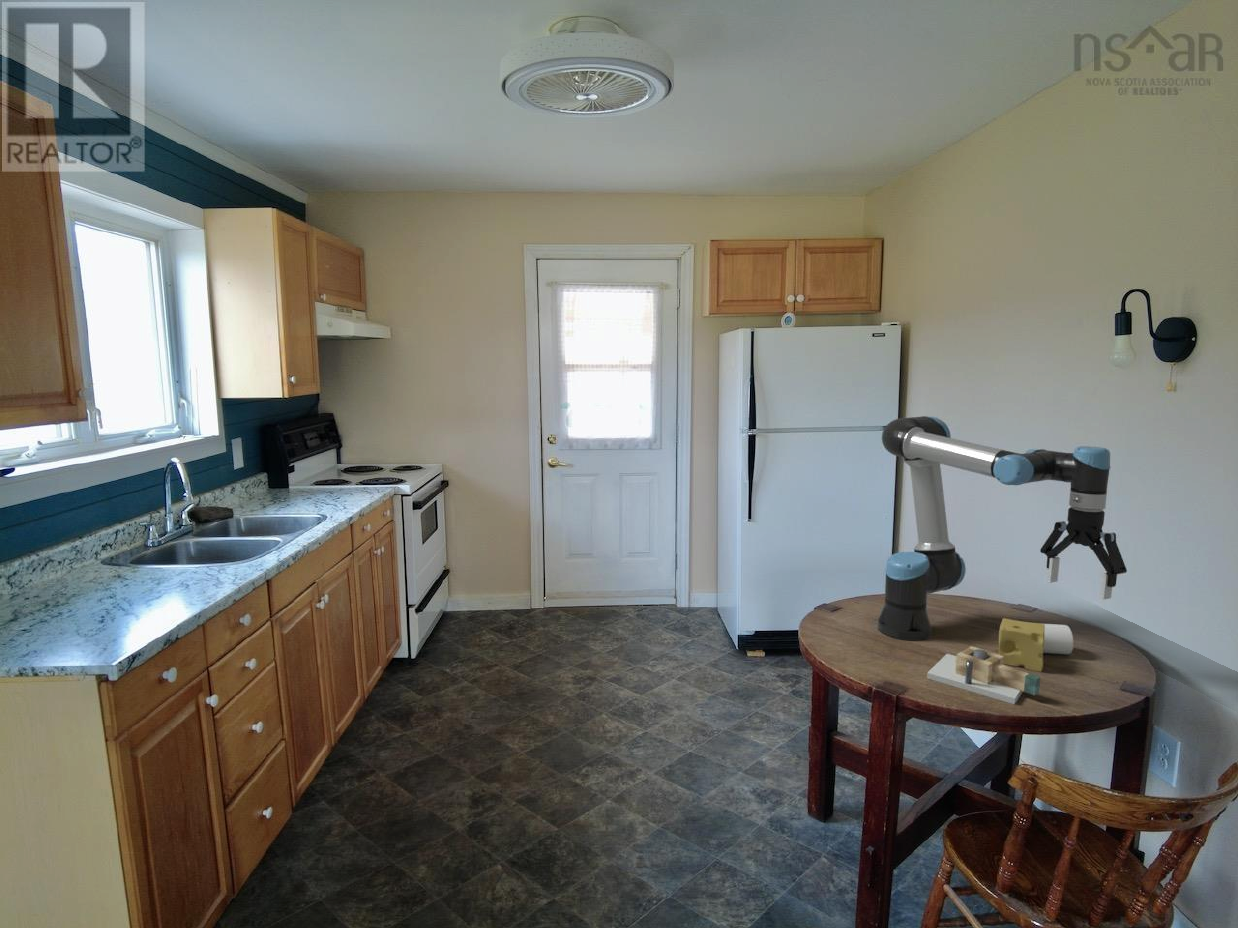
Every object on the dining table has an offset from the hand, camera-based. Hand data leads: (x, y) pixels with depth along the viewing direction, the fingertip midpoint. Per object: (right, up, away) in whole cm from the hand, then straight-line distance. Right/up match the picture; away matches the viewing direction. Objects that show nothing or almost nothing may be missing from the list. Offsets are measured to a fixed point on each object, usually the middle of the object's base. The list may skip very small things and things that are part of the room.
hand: (1078, 589), depth 171 cm
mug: (+3, -21, +19) cm, 28 cm away
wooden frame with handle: (-22, -22, -3) cm, 32 cm away
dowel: (-30, -22, -4) cm, 38 cm away
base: (-25, -23, +1) cm, 34 cm away
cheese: (-8, -22, +11) cm, 26 cm away
